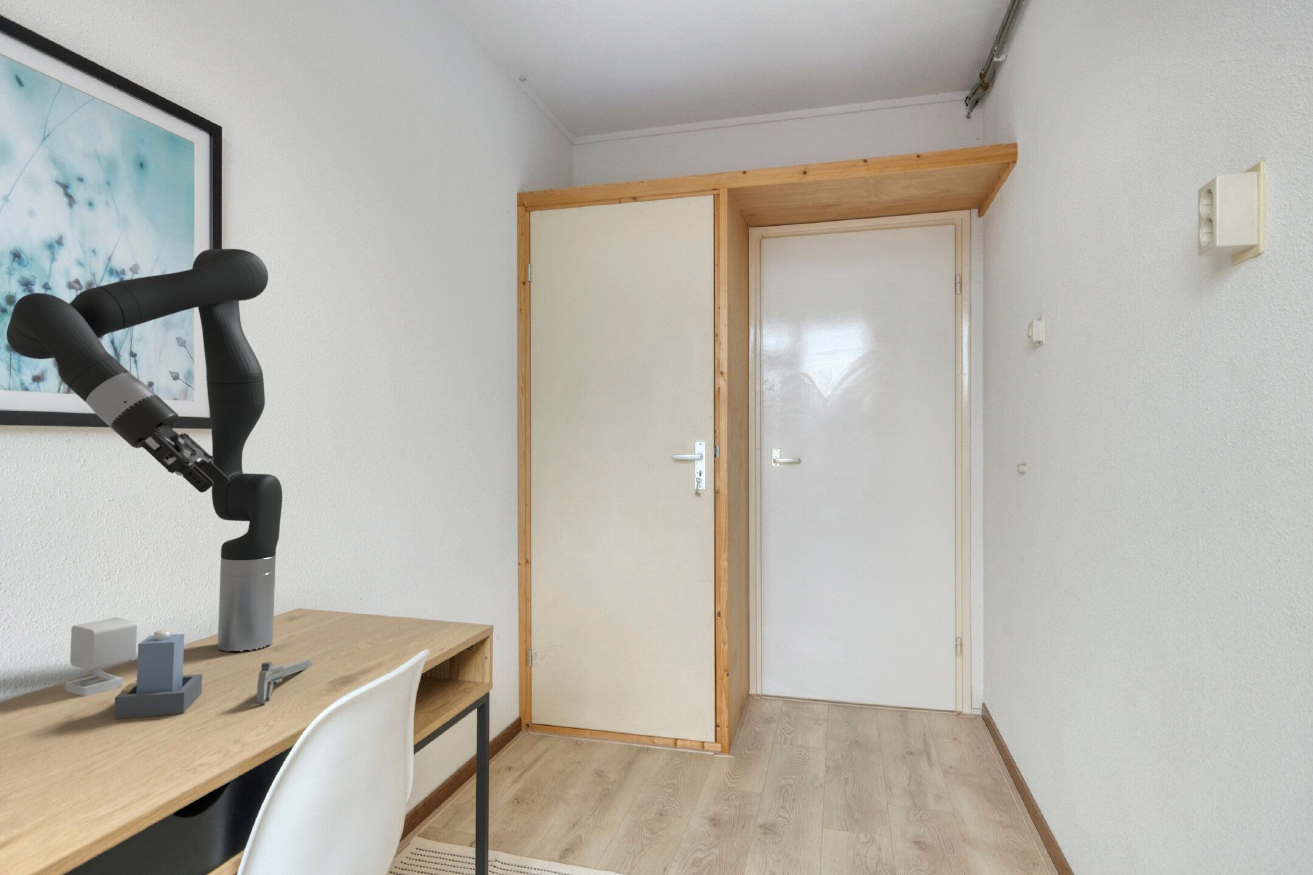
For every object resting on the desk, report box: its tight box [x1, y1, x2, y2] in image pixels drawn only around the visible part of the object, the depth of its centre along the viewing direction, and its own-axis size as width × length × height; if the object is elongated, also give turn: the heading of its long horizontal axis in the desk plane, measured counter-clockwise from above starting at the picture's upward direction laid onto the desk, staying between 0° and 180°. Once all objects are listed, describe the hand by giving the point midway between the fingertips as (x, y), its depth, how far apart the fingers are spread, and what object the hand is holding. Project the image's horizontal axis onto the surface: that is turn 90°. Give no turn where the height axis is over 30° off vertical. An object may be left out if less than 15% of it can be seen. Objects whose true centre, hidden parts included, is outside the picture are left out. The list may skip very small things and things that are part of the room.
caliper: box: [256, 659, 314, 705], centre depth 116 cm, size 20×1×6 cm, turn 7°
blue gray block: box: [136, 629, 185, 694], centre depth 105 cm, size 4×4×11 cm
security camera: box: [64, 617, 138, 697], centre depth 112 cm, size 6×7×10 cm
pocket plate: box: [113, 673, 203, 720], centre depth 105 cm, size 9×8×3 cm
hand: (217, 486), depth 109 cm, fingers open, 8 cm apart
